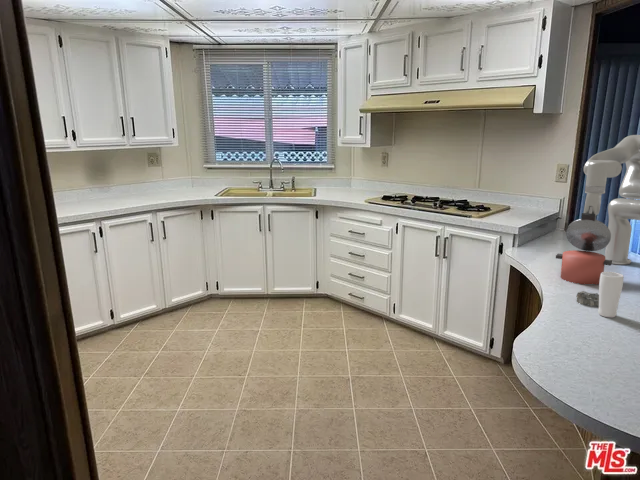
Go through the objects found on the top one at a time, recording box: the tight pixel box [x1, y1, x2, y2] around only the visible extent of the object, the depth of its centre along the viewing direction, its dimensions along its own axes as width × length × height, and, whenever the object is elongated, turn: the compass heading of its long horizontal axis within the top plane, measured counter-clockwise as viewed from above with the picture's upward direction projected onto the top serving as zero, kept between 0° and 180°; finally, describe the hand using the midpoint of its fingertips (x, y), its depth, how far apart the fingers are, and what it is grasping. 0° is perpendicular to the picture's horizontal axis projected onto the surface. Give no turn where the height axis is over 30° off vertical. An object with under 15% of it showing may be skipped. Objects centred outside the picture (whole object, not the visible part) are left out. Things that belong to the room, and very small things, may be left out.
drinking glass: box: [597, 271, 624, 318], centre depth 151 cm, size 7×7×15 cm
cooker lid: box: [565, 212, 611, 252], centre depth 191 cm, size 20×17×3 cm
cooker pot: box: [555, 249, 613, 285], centre depth 191 cm, size 18×21×11 cm
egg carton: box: [575, 290, 599, 307], centre depth 163 cm, size 11×8×4 cm
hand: (590, 230), depth 195 cm, fingers closed
